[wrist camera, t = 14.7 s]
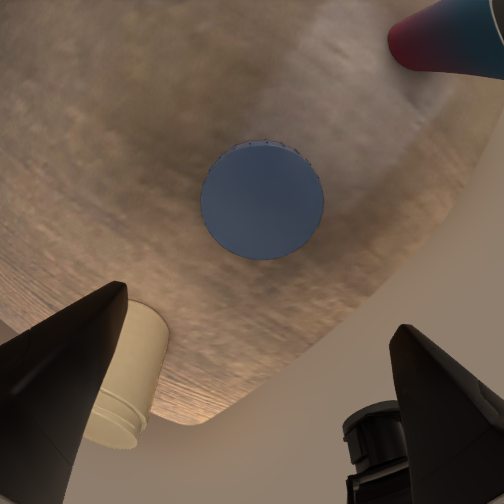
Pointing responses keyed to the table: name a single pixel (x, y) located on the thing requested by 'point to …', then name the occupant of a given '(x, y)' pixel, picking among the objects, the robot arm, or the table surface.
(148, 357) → the jar
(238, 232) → the lid
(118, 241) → the table surface
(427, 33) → the cup
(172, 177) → the table surface
